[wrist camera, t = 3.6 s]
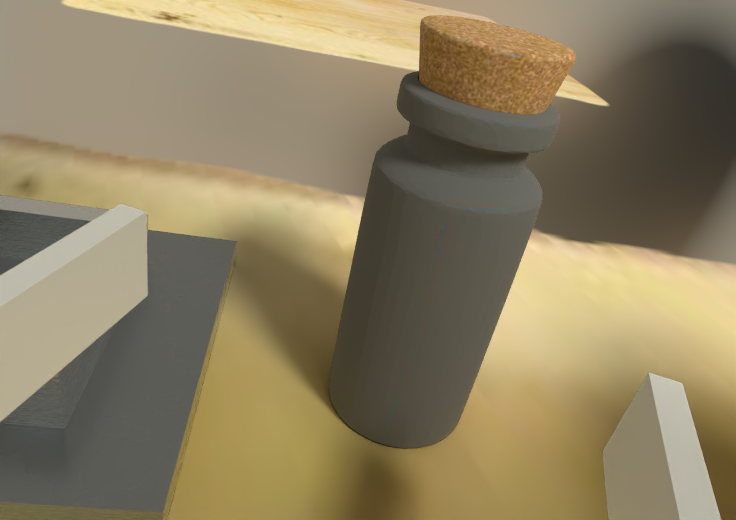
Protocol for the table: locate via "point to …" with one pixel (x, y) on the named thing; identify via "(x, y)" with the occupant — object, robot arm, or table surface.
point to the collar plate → (113, 382)
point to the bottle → (444, 228)
